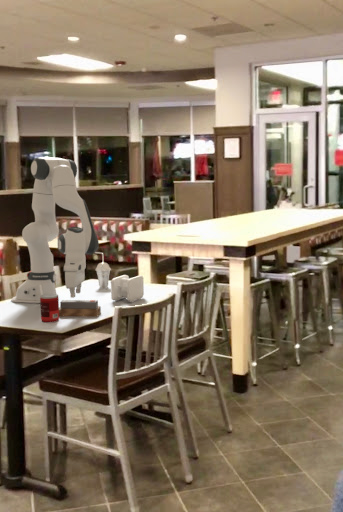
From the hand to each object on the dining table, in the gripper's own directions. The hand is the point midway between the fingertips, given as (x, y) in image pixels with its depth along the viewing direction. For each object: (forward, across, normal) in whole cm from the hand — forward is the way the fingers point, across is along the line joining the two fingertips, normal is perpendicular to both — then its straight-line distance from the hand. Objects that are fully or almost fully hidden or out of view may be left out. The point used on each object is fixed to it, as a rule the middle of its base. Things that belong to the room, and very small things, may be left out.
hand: (75, 295), depth 304 cm
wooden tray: (+9, 0, +2) cm, 9 cm away
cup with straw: (+10, -66, -1) cm, 67 cm away
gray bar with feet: (+8, 0, +2) cm, 9 cm away
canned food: (+9, +12, -8) cm, 17 cm away
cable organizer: (+9, -34, +18) cm, 39 cm away
